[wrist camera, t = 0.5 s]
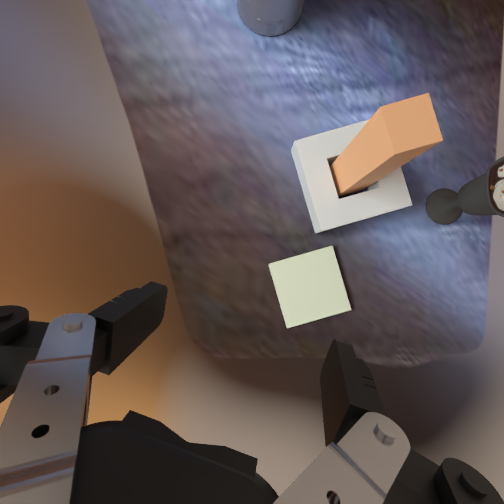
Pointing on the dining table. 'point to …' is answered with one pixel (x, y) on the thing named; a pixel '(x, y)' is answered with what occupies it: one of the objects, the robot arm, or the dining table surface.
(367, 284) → the dining table surface
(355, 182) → the peg
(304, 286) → the pad
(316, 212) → the socket block
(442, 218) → the sundae
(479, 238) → the dining table surface
